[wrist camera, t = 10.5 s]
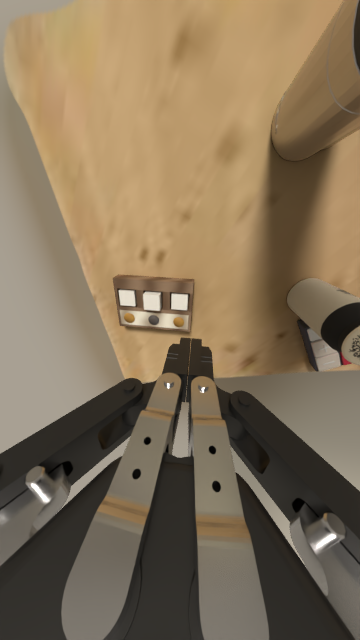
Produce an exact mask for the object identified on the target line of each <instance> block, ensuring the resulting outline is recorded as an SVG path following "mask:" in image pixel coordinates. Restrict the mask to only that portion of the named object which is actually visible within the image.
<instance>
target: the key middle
mask: <svg viewBox="0 0 360 640" xmlns="http://www.w3.org/2000/svg"><path fill="white" fill-rule="evenodd" d="M143 303H144V310H155V311H160V309H161V307H162V292H158V291H145V293H144V294H143Z"/></svg>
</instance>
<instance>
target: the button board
mask: <svg viewBox="0 0 360 640" xmlns="http://www.w3.org/2000/svg"><path fill="white" fill-rule="evenodd" d="M113 283H114V290H115V297H116V303H117V310H118V317H119V323H120V326H131V327H142V328H154V329H165V330H176V331H188V332H190V327H191V314H192V301H193V287H194V279H179V278H163V277H147V276H132V275H117V276H115V277H114V278H113ZM120 289H132V290H136V296H137V305H136V306H124V305H120V298H119V290H120ZM145 291H158V292H162V307H161V309H160V311H155V310H144V303H143V294H144V293H145ZM172 292H174V293H189V295H188V308H187V310H175V309H171V296H172Z"/></svg>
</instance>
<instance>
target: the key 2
mask: <svg viewBox="0 0 360 640" xmlns="http://www.w3.org/2000/svg"><path fill="white" fill-rule="evenodd" d="M188 295H189V293H174V292H172V296H171V309H175V310H187V308H188Z"/></svg>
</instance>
